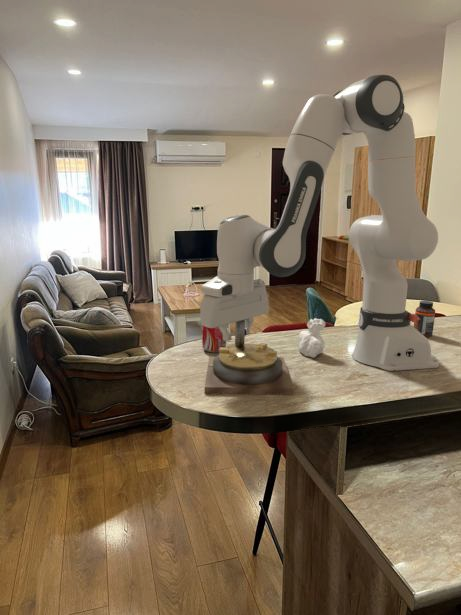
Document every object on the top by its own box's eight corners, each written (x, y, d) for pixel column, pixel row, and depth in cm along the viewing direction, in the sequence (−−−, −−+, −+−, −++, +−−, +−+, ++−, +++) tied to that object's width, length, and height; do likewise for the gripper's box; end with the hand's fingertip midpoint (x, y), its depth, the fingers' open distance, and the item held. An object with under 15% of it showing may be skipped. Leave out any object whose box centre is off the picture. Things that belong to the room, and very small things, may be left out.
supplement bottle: (409, 332, 147) (412, 299, 144) (426, 332, 147) (430, 299, 145) (418, 338, 141) (422, 303, 138) (436, 337, 142) (440, 303, 139)
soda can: (203, 345, 131) (203, 306, 128) (226, 346, 131) (227, 307, 128) (201, 353, 124) (200, 312, 121) (225, 354, 124) (226, 313, 121)
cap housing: (283, 362, 118) (283, 348, 117) (293, 394, 98) (294, 377, 97) (209, 361, 118) (209, 347, 117) (204, 393, 98) (204, 376, 97)
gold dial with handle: (262, 348, 116) (263, 315, 114) (286, 367, 103) (288, 330, 101) (211, 354, 111) (211, 320, 109) (230, 374, 98) (231, 336, 96)
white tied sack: (321, 367, 121) (345, 334, 121) (302, 353, 118) (327, 320, 118) (301, 353, 132) (323, 323, 132) (283, 340, 129) (306, 309, 129)
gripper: (256, 276, 116) (256, 326, 119) (195, 287, 102) (197, 343, 106) (273, 279, 111) (273, 331, 115) (213, 291, 98) (214, 349, 101)
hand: (236, 337), depth 110 cm, fingers open, 5 cm apart
